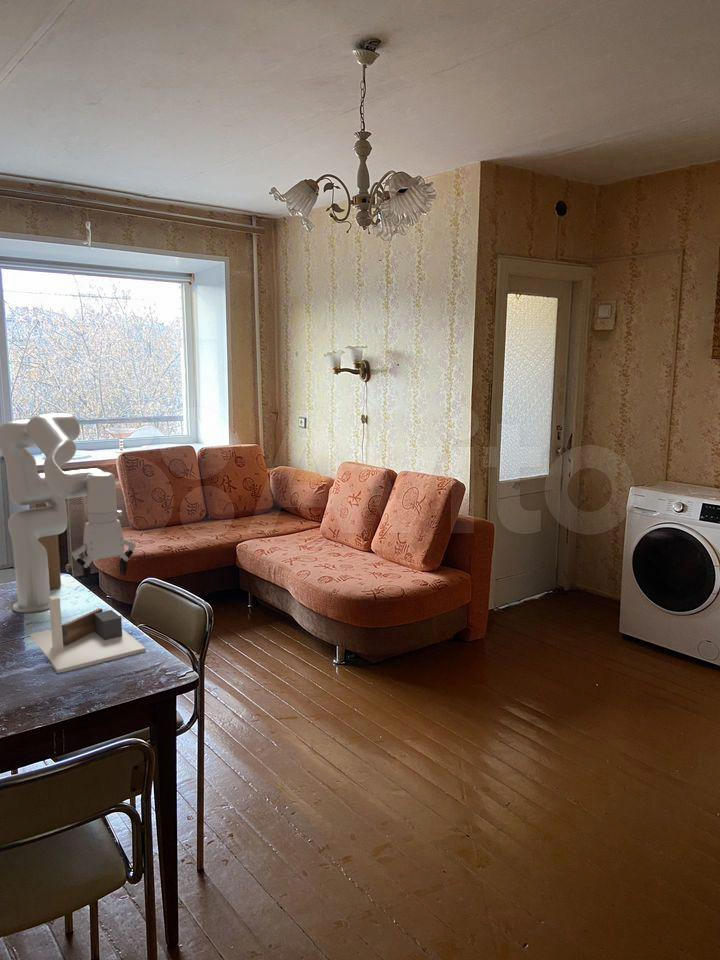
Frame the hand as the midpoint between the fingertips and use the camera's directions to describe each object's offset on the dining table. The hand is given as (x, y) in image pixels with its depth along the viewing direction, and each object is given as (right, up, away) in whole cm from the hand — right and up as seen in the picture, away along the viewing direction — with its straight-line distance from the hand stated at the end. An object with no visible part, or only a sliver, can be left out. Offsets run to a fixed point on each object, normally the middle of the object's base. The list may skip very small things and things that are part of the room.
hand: (105, 577), depth 195 cm
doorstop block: (0, -17, +3) cm, 17 cm away
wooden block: (-39, -11, +50) cm, 64 cm away
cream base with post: (-5, -18, -1) cm, 19 cm away
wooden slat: (-7, -17, +1) cm, 18 cm away
